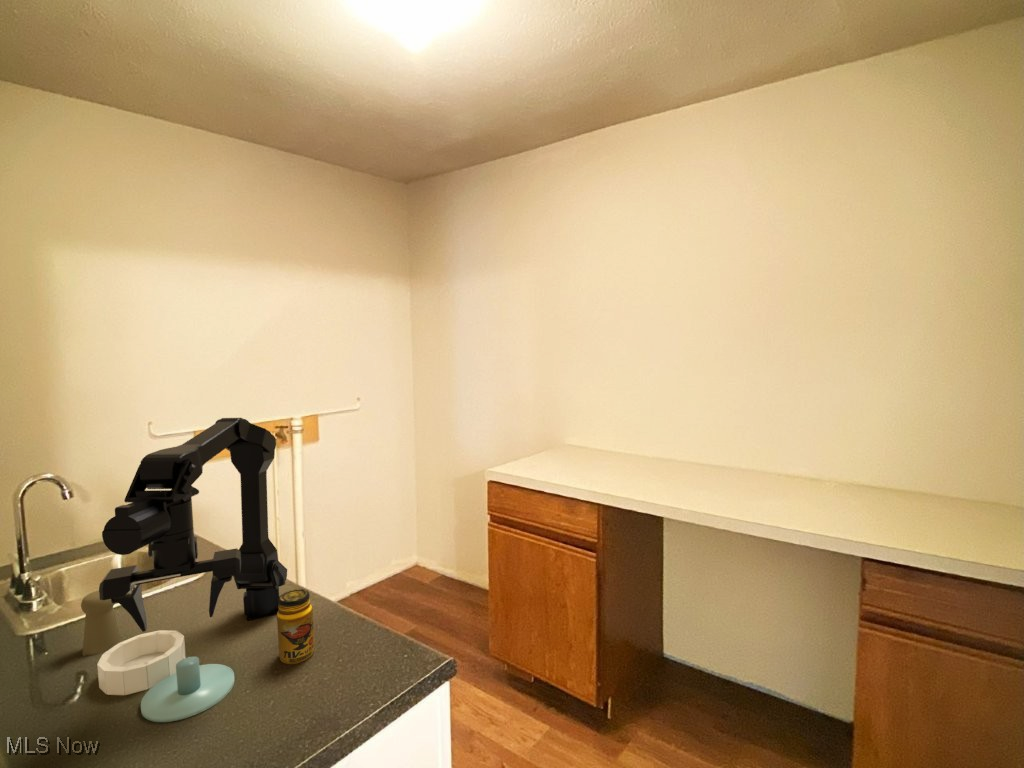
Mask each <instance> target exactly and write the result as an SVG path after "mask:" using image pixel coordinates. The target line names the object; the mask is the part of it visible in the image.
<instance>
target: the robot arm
mask: <svg viewBox="0 0 1024 768" xmlns="http://www.w3.org/2000/svg"><path fill="white" fill-rule="evenodd" d="M276 447H277V439H276V436H275V435H274V434H272V433H271V431H269V430H268V429H266V428H265V427H261V426H260V425H259V426H258V425H256V424H254V423H251V422H250V421H249V420H248V419H246V418H243V417H222V418H220V419H216V421H215V423H214V424H212V425H211V426H209V427H207V428H206V429H204V430H202V432H199V433H198V434H197V435H195V436H193V437H191V438H190V439H188V440H187V441H185V442H183V443H182V444H180V445H177V446H172V447H167V448H163V449H158V450H156V451H153V452H151V453H147V455H145V456H143V458H142V459H141V460H140V463H139V465H138V467H137V470H136V472H135V474H134V477H133V478H132V480H131V484H130V486H129V488H128V490H127V493H126V495H125V497H124V503H126V504H122V505H119V506H116V507H115V508H114V516H113V517H112V518H110V519H108V521H106V523H105V525H104V527H103V530H102V532H101V537H102V541H103V543H104V546H105V547H106V548H107V550H109V551H110V552H112V553H114V554H116V555H119V556H127V555H130V554H132V553H134V552H136V551H138V550H140V549H142V548H144V547H146V546H147V552H148V557H150V558H151V557H152V565H153V566H152V567H153V569H146V570H143V571H142V570H141V571H139V566H138V565H137V564H136V565H130V566H124V567H117V568H116V567H115V568H112V569H110V570H108V572H106V575H105V576H104V577H103V578H102V580H101V582H100V583H99V587H98V590H99V596H100V600H108V599H111V603H113V604H114V603H115V604H119V605H120V606H121V607H122V608H123V609H124V610H125V611H126V612H127V613H128V614H129V615H130V617H132V619H133V620H134V621H135V624H136V625H137V626H138V627H139V629H140V630H141V633H142V632H143V633H145V632H147V629H148V625H147V624H148V622H147V613H146V609H145V604H144V599H143V593H142V591H143V588H142V586H143V585H144V584H149V583H154V582H159V581H166V580H171V579H177V578H183V577H188V576H193V575H199V574H204V573H205V574H206V573H209V572H212V576H211V580H210V581H211V582H210V592H209V605H208V612H209V615H208V616H209V618H212V617H214V612H215V609H216V606H217V603H218V599H219V596H220V594H221V591H222V590H223V588H224V585H225V583H228V582H230V581H232V579H233V581H234V583H235V586H236V588H237V590H245V592H244V593H243V596H242V597H243V601H242V602H243V614H244V616H245V617H246V621H248V622H250V621H254V620H259V619H263V618H267V617H272V616H277V612H278V610H279V608H278V606H279V602H278V599H279V597H280V587H281V586H285V585H286V580H287V579H288V577H287V576H288V568H286V567H285V566H284V564H282V563H281V562H280V561H279V554H278V550H277V548H276V547H275V545H274V544H273V542H272V541H271V540H270V538H269V515H268V514H269V511H268V510H269V509H268V481H267V480H268V479H267V477H268V476H267V474H268V473H267V471H268V469H269V467H270V466H271V464H272V463H273V461H274V459H275V450H276ZM224 450H227V451H229V454H230V462H231V464H232V465H233V466H234V468H235V469H236V470H237V472H238V474H239V475H240V501H241V502H240V504H241V506H240V507H241V533H242V535H241V537H242V539H241V540H242V543H241V545H240V547H239V549H238V548H237V547H235V548H229V549H225V550H219V551H214V553H213V558H211V559H205V560H200V561H196V560H197V559H198V557H199V553H198V552H199V550H198V549H199V548H198V537H197V536H195V534H194V533H195V530H194V517H193V500H192V499H193V498H192V497H194V496H197V495H199V493H200V490H199V489H198V488H196V487H194V486H193V484H194V483H195V482H196V481H197V480H198V479H199V478H200V477H201V476H202V474H203V469H204V468H203V467H204V466H205V464H206V463H208V462H209V461H210V460H212V459H213V458H215V457H216V456H217V455H218V454H220V453H221V452H222V451H224ZM146 489H147V490H146ZM127 503H128V504H127ZM115 604H114V605H115Z"/></svg>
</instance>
